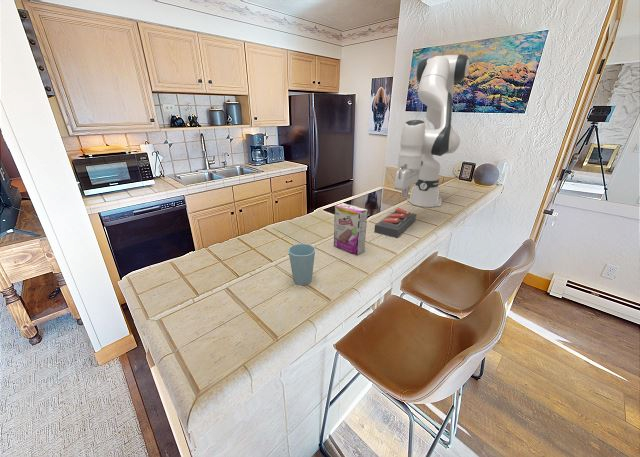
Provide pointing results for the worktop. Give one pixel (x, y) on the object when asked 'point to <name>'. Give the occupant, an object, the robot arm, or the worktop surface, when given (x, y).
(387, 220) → the rocker
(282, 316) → the worktop surface
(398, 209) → the rocker
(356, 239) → the candy bar box
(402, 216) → the rocker
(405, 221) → the rocker switch panel
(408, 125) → the robot arm
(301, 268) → the cup
